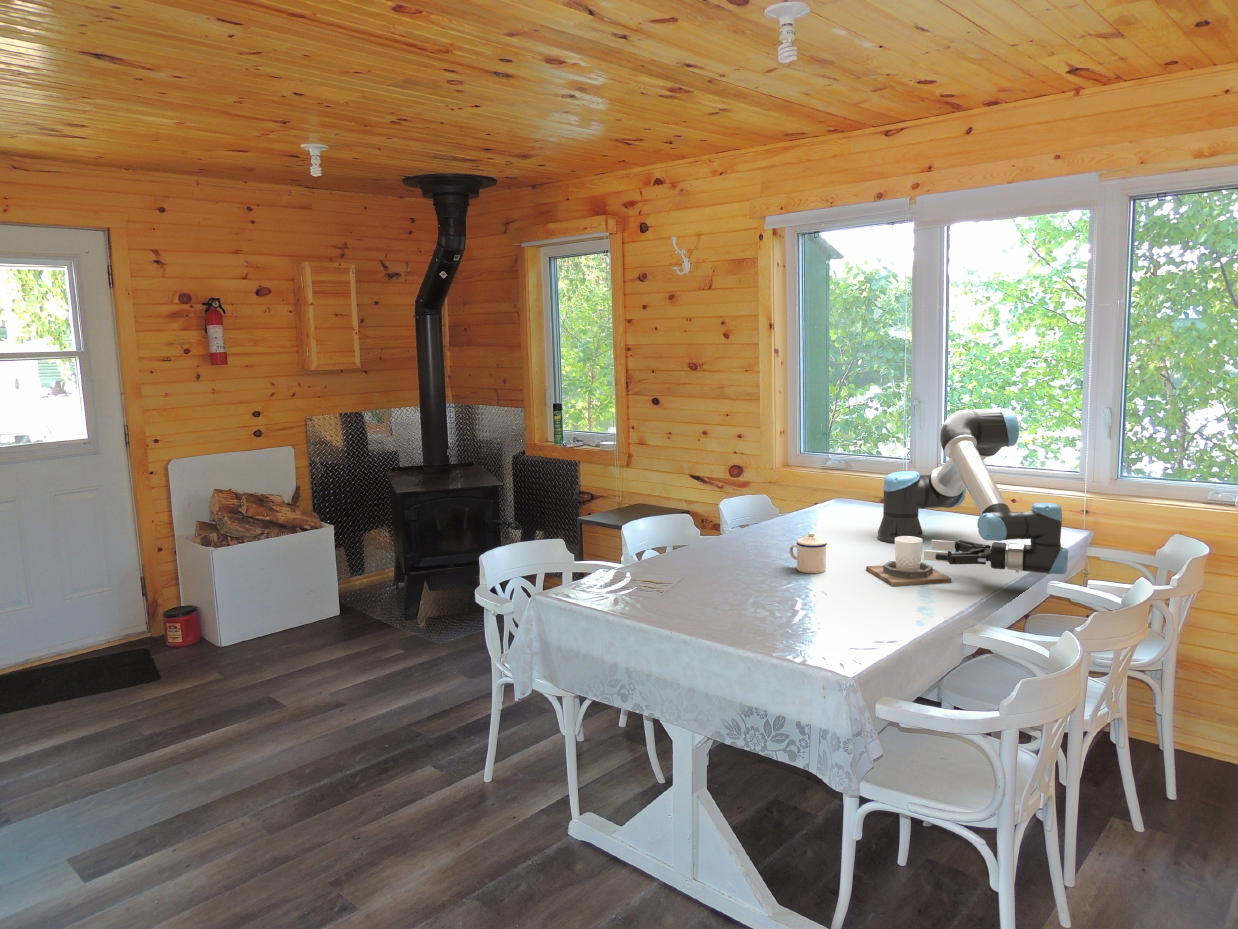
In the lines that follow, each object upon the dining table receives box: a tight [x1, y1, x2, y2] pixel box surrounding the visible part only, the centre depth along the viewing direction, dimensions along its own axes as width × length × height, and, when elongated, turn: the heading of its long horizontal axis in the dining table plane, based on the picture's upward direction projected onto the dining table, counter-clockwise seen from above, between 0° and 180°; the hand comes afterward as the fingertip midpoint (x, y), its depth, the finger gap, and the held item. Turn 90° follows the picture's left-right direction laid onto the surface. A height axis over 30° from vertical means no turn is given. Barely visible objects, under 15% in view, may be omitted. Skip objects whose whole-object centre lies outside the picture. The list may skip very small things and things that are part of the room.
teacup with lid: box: [789, 532, 828, 574], centre depth 274 cm, size 12×9×12 cm
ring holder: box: [865, 560, 953, 587], centre depth 265 cm, size 18×18×3 cm
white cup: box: [894, 536, 924, 571], centre depth 264 cm, size 8×8×10 cm
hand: (927, 549), depth 260 cm, fingers open, 13 cm apart
